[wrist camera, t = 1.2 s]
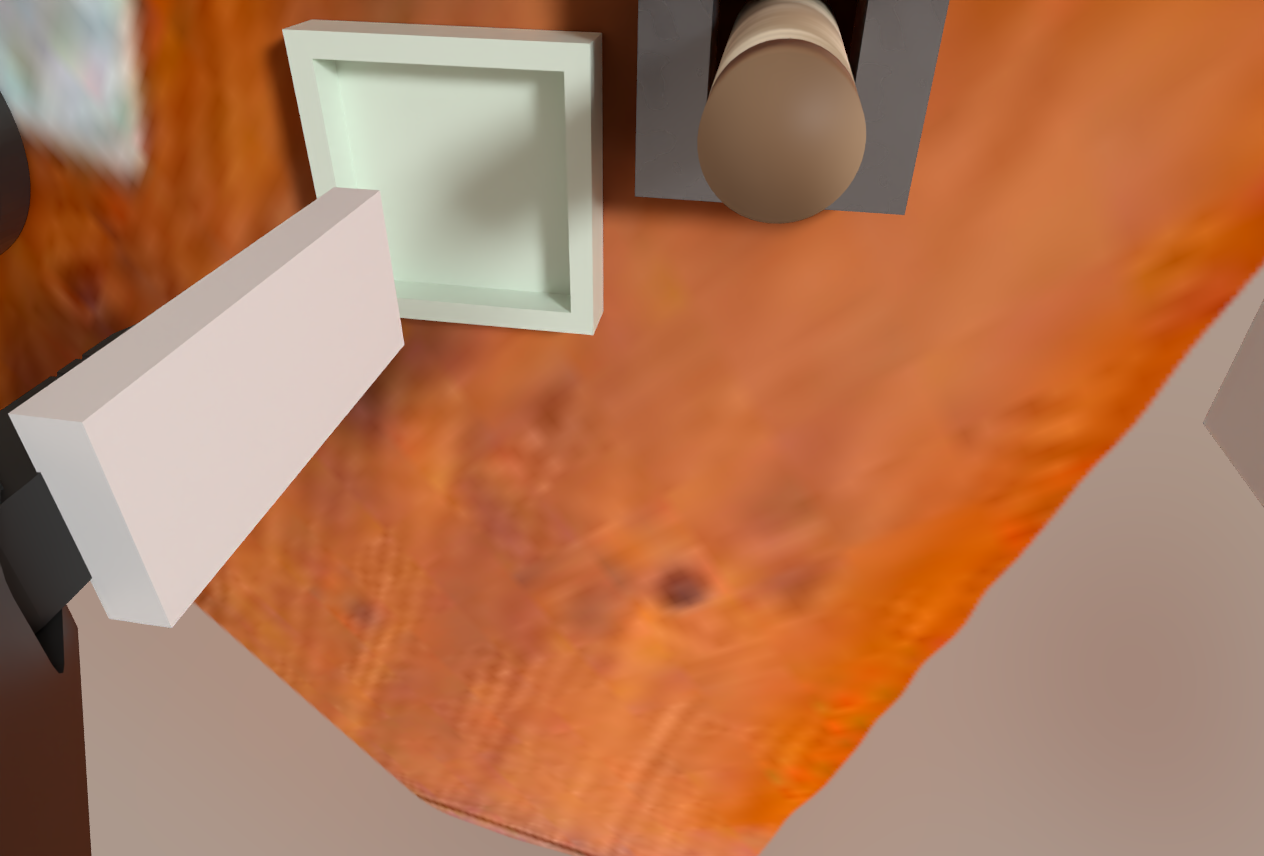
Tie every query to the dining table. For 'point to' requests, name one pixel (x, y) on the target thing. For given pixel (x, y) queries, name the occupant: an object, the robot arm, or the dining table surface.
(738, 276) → the dining table surface
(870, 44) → the socket block
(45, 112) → the dining table surface
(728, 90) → the pin
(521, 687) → the dining table surface
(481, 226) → the tray
